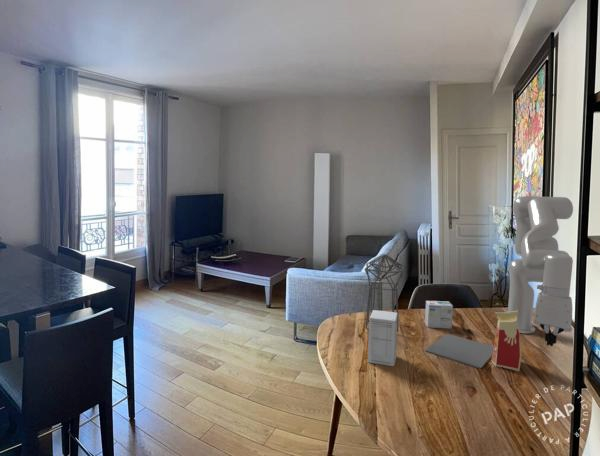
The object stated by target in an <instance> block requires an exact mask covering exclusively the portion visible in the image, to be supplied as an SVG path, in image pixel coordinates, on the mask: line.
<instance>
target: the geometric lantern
mask: <svg viewBox="0 0 600 456" xmlns="http://www.w3.org/2000/svg"><path fill="white" fill-rule="evenodd" d="M379 261H380V263H379V264H377V263H378V262H379ZM386 263H387V265H386ZM365 266H366V267H365V268H364V271H365V274H366V276H367V282H368V285H369V287H368V295H367V306H366V307H367V308H366V317H365V326H364V327H365V329H366V330H367V331H368V332H369V327H368V326H369V318H370V316H371V314H372V311H373V310H375V300H376V299H375V297H376V296H375V295H376V290H385V291H391V312H395V311H396V313H398V315H397V333H398V332H399V328H400V327H399V326H400V325H399V322H400V321H399V299H398V298H399V297H398V293H399V292H398V290H399V283H400V281H401V278H402V279H403V273H405V270H404V269H403V265H402V264H401V263H399V262H398V261H397V260H395V259H394V258H393V257H390V256H389V255H388V254H386V253H383V254H380V255H379V256H377V257H375V258H374V259H372V260H370V261H369V262H367V263H366V264H365ZM391 267H392V268H391ZM372 268H375V269H372ZM387 268H388V271H387ZM395 269H396V270H395ZM374 272H376V273H377V274H378V275H377V274H375V273H374ZM382 273H384V274H385V277H381V274H382ZM391 273H392V274H391ZM370 274H371V275H373V276H374V277H376V279H375V281H373V282H372V280H371V277H370ZM398 274H399V276H398V277H397V280H396V283H394V281H393V280H392V278H391V277H392V276H395V275H398ZM387 275H388V276H387ZM385 279H386V280H387V282H381V281H380V282H379V281H378V280H385ZM389 279H390V280H391V281H390V280H389ZM376 284H386V285H389V286H390V288H381V287H379V288H378V287H376ZM395 309H396V310H395Z"/></svg>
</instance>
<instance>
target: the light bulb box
mask: <svg viewBox="0 0 600 456" xmlns="http://www.w3.org/2000/svg"><path fill="white" fill-rule="evenodd" d="M453 310H454V305H453V304H452V303H451V302H450V301H447V300H445V301H444V300H443V301H440V300H425V313H424V314H425V316H424V323H425V325H426V327H427V328H434V329H451V330H452V328H453V312H454V311H453Z"/></svg>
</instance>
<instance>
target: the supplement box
mask: <svg viewBox="0 0 600 456" xmlns="http://www.w3.org/2000/svg"><path fill="white" fill-rule="evenodd" d="M372 310H373V309H372ZM397 315H398V316H399V312H398V313H396V312H395V311H394V312H392V311H387V310H377V309H374V310H373V311H372V314H371V316H370V315H369V322H368V328H369V331H368V339H367V340H368V345H367V346H368V349H367V351H368V352H367V363H369V364H370V363H371V364H376V365H383V366H389V367H394V366H395V363H396V359H397V351H398V350H397V348H398V347H397V343H398V332H397Z"/></svg>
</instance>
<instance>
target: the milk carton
mask: <svg viewBox="0 0 600 456" xmlns="http://www.w3.org/2000/svg"><path fill="white" fill-rule="evenodd" d="M517 313H518V311H512V312H508V311H507V312H505V311H504V312H494V314H495V315H496V317H497V319H498V320H497V324H496V327H495V329H496V330H495V336H494V342H493V346H494V349H493V354H492V357H491V358H490V359H491V360H490V362H491V361H492V362H491V363H492V364H493V365H494V367H496V366H497V368H502V367H503V369H508V370H512V371H515V372H520V368H521V360H522V343H521V339H522V338H521V333H519V328H518V324H517Z"/></svg>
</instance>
